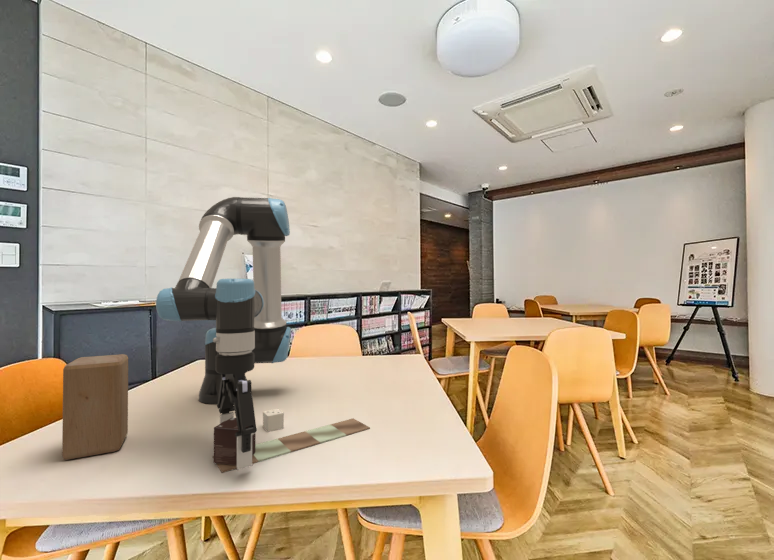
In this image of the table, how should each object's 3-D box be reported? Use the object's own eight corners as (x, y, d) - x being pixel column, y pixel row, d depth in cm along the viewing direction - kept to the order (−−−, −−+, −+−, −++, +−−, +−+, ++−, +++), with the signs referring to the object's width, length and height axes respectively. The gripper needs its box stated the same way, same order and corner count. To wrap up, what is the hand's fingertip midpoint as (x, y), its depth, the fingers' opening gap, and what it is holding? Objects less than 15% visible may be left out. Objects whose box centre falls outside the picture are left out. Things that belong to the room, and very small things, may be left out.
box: (239, 466, 71) (239, 429, 71) (212, 464, 72) (212, 427, 72) (256, 452, 77) (256, 418, 77) (231, 450, 78) (231, 416, 78)
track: (212, 457, 76) (212, 455, 76) (353, 419, 97) (353, 418, 97) (221, 473, 69) (221, 471, 69) (370, 428, 91) (370, 427, 91)
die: (262, 427, 92) (262, 411, 92) (278, 423, 94) (278, 408, 95) (267, 432, 89) (267, 415, 89) (283, 428, 91) (283, 412, 91)
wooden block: (60, 462, 74) (61, 365, 74) (75, 443, 83) (76, 356, 83) (120, 452, 78) (121, 360, 79) (128, 435, 87) (129, 353, 88)
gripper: (203, 346, 83) (202, 439, 82) (232, 364, 63) (231, 486, 62) (237, 343, 87) (237, 431, 87) (274, 358, 68) (274, 472, 67)
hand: (234, 454), depth 75 cm, fingers open, 13 cm apart
